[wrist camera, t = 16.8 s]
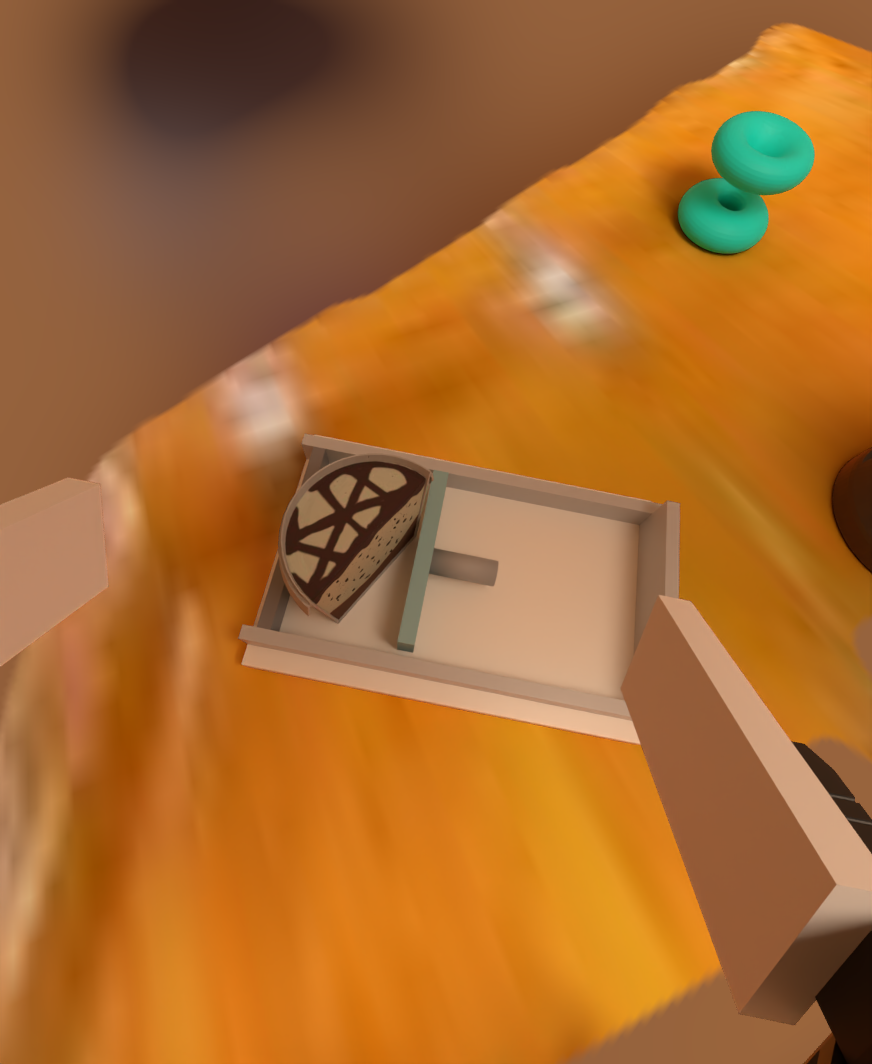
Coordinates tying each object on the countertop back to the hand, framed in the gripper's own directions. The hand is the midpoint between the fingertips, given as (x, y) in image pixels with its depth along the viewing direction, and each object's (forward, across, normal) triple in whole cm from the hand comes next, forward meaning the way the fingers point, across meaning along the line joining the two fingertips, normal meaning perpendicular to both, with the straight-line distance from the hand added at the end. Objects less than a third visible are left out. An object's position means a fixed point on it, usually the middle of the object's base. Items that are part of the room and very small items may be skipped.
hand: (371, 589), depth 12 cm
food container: (+27, -5, -13) cm, 30 cm away
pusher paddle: (+26, +3, -13) cm, 30 cm away
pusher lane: (+28, +4, -14) cm, 31 cm away
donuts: (+62, +26, +20) cm, 70 cm away
